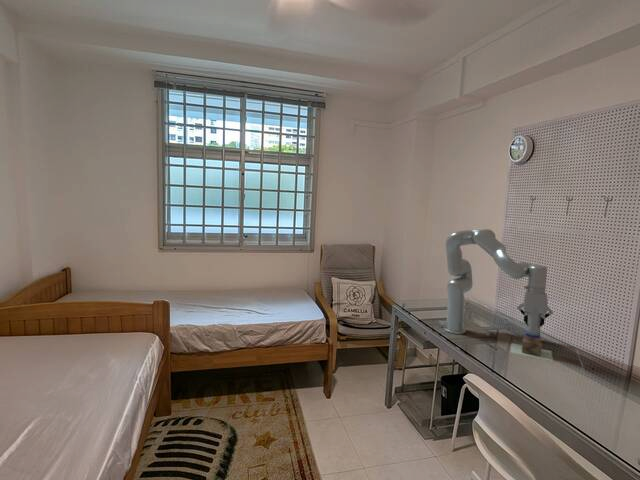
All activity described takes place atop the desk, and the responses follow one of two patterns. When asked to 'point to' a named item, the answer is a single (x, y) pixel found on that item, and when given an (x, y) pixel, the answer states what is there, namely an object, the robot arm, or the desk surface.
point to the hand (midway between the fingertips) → (533, 324)
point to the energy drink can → (533, 322)
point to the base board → (544, 355)
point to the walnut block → (531, 346)
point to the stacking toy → (532, 335)
